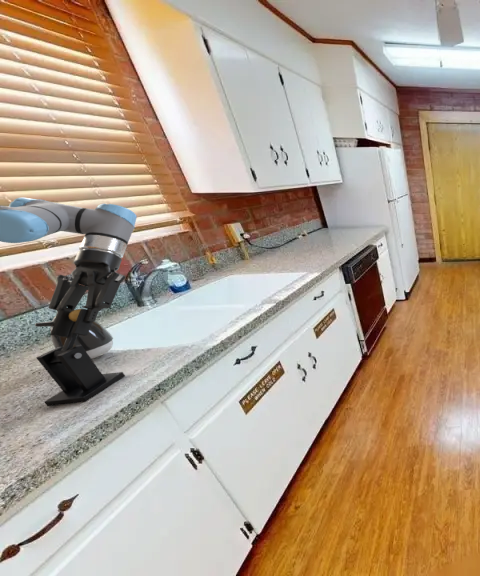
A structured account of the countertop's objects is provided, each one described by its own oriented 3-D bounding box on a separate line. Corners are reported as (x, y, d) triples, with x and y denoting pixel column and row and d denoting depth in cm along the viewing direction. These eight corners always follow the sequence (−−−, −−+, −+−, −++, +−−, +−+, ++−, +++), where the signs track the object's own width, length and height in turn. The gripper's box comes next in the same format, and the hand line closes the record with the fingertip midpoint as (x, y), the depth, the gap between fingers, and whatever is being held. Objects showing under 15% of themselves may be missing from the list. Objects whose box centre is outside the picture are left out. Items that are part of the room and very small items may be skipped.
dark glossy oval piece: (59, 362, 90) (24, 318, 84) (110, 343, 98) (83, 303, 93) (74, 368, 86) (39, 323, 80) (126, 348, 95) (98, 307, 89)
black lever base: (91, 379, 83) (63, 341, 77) (125, 375, 84) (100, 338, 79) (47, 406, 74) (12, 365, 68) (86, 402, 75) (55, 361, 70)
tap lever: (83, 311, 80) (66, 307, 77) (99, 310, 81) (83, 306, 78) (61, 364, 75) (43, 362, 72) (79, 362, 76) (61, 360, 73)
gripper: (149, 259, 89) (123, 335, 81) (81, 262, 86) (47, 341, 78) (122, 247, 82) (91, 328, 74) (47, 249, 79) (6, 335, 71)
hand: (69, 335), depth 76 cm, fingers closed on tap lever, 4 cm apart
